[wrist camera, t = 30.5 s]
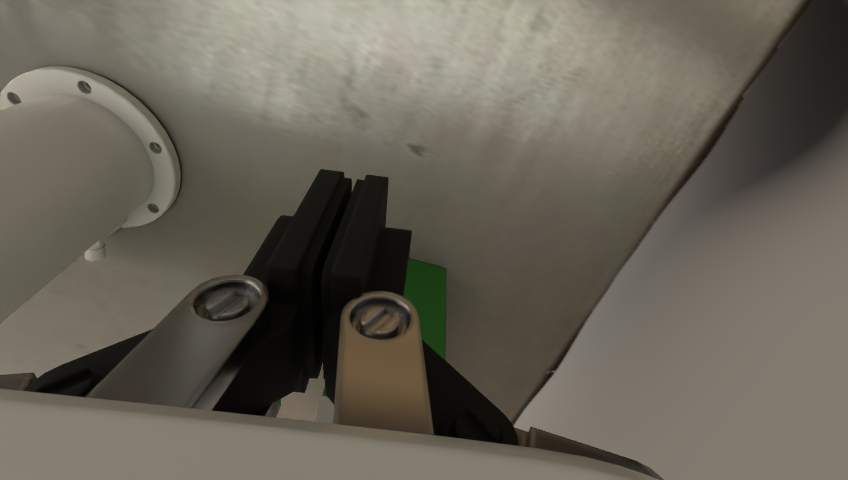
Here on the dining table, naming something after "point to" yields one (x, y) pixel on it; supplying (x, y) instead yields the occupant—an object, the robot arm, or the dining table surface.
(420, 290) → the hardback book
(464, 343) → the dining table surface
